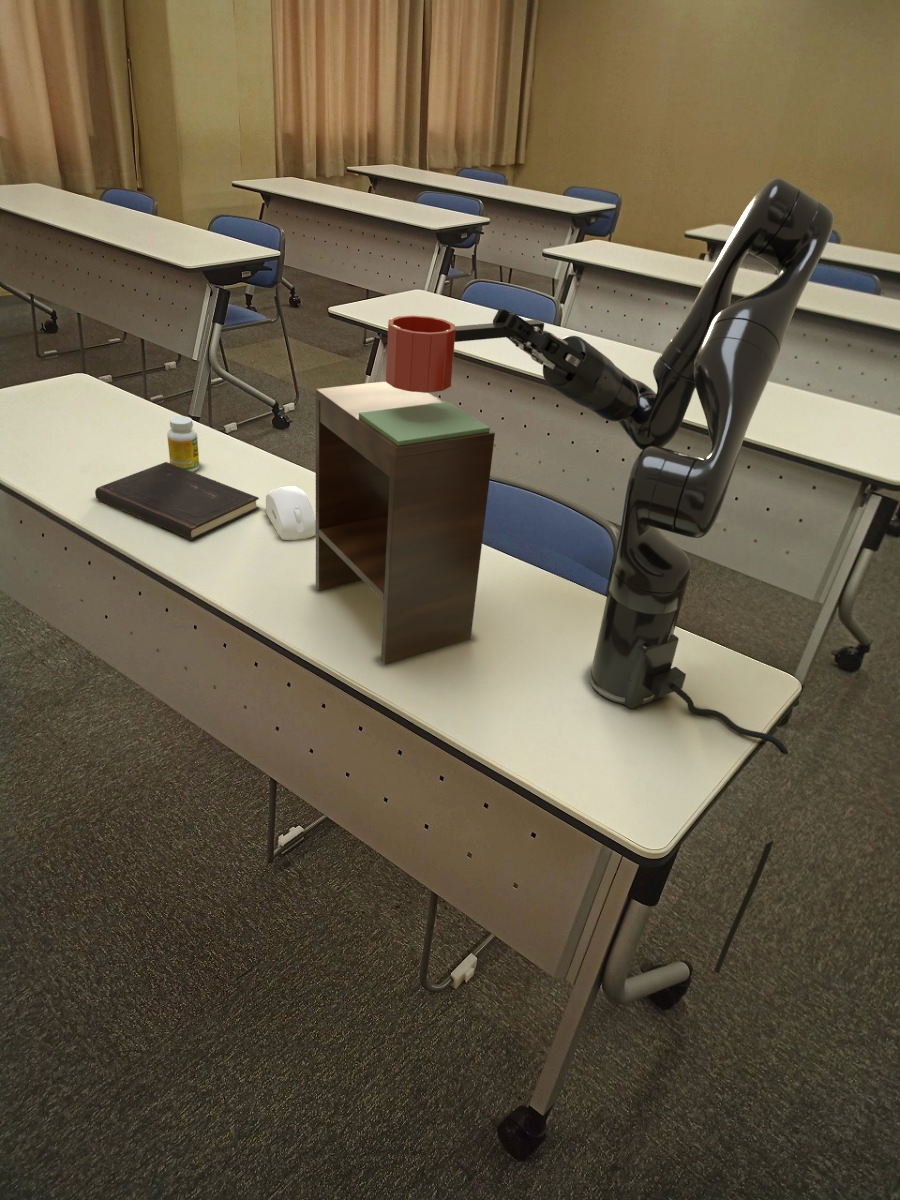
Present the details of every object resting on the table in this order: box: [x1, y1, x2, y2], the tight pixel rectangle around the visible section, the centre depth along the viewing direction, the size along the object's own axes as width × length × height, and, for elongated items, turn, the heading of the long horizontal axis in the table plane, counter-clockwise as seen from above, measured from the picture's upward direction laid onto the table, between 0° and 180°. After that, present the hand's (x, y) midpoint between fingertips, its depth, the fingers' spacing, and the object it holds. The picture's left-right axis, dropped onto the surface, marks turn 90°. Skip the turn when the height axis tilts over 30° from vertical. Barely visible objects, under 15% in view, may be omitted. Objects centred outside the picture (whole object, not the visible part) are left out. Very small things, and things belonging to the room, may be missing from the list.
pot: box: [385, 315, 545, 394], centre depth 106 cm, size 8×22×7 cm, turn 122°
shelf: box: [315, 380, 496, 665], centre depth 117 cm, size 22×14×31 cm, turn 32°
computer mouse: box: [265, 485, 316, 541], centre depth 144 cm, size 6×13×6 cm, turn 24°
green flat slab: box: [359, 401, 491, 446], centre depth 105 cm, size 10×13×1 cm
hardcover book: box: [94, 461, 260, 541], centre depth 148 cm, size 16×23×2 cm
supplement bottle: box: [166, 415, 200, 472], centre depth 159 cm, size 5×5×10 cm
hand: (503, 318), depth 107 cm, fingers closed on pot
